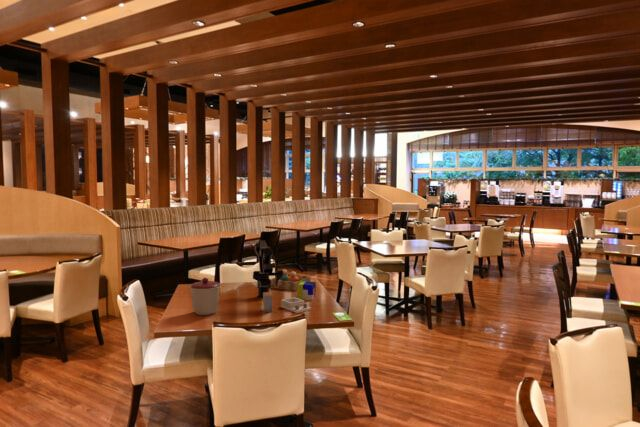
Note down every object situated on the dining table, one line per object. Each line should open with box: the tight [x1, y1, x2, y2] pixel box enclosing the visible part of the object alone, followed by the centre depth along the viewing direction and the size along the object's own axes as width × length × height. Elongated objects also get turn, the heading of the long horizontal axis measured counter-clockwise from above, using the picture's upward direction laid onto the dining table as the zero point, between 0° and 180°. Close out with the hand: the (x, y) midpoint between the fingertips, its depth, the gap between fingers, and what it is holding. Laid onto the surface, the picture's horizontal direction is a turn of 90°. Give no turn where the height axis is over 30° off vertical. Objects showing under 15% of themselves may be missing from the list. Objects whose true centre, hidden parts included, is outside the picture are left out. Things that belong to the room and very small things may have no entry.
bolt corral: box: [269, 273, 312, 292], centre depth 333 cm, size 23×24×6 cm
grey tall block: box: [262, 291, 273, 313], centre depth 267 cm, size 5×5×11 cm
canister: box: [188, 277, 222, 316], centre depth 261 cm, size 18×18×21 cm
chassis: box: [280, 296, 312, 314], centre depth 273 cm, size 17×11×4 cm, turn 39°
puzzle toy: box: [297, 281, 317, 301], centre depth 299 cm, size 10×10×10 cm
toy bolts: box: [280, 269, 299, 282], centre depth 333 cm, size 18×17×12 cm
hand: (269, 286), depth 274 cm, fingers open, 9 cm apart
